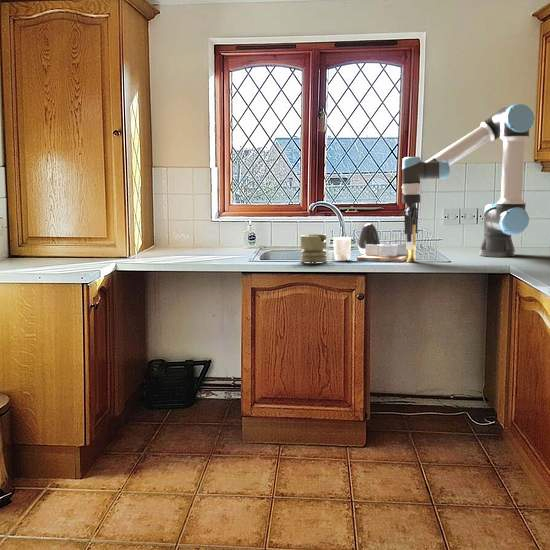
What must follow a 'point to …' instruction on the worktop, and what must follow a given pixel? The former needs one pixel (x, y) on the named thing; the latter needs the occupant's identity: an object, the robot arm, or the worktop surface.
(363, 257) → the mount board
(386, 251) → the white piece
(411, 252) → the pin
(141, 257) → the worktop surface
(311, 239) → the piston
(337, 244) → the white cup
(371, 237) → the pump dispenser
